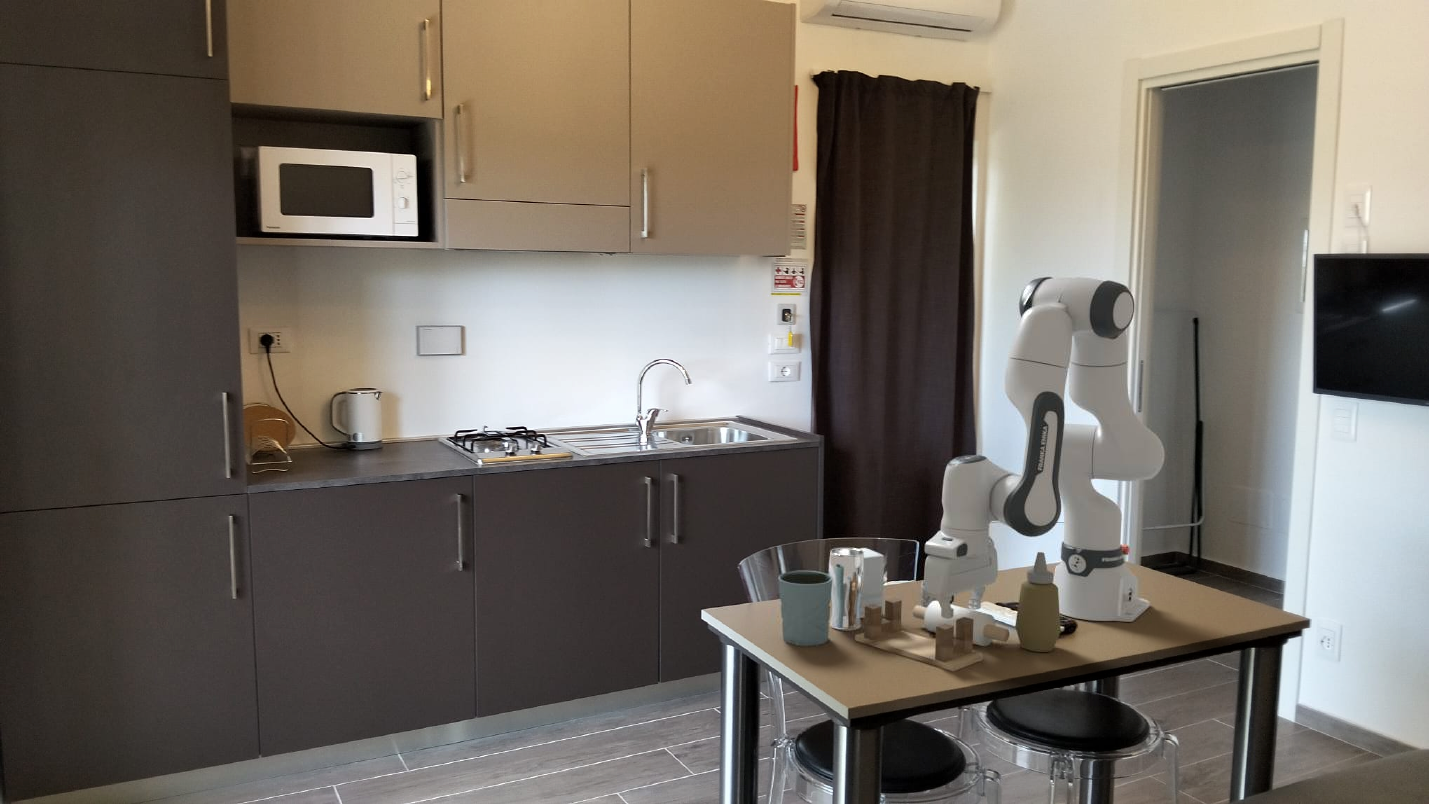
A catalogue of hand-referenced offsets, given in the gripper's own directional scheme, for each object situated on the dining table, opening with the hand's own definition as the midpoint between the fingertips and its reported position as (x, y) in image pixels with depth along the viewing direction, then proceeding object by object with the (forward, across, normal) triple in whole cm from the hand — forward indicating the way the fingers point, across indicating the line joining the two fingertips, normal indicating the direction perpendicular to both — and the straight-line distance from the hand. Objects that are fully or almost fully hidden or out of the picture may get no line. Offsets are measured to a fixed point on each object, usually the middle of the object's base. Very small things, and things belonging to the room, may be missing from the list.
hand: (961, 613), depth 200 cm
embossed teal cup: (+6, +21, -20) cm, 30 cm away
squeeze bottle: (+5, -7, +12) cm, 15 cm away
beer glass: (+5, +9, -20) cm, 23 cm away
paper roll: (+5, -1, -1) cm, 5 cm away
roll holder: (+5, +11, -2) cm, 12 cm away
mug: (+5, -10, -13) cm, 17 cm away
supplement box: (+5, 0, -24) cm, 24 cm away
